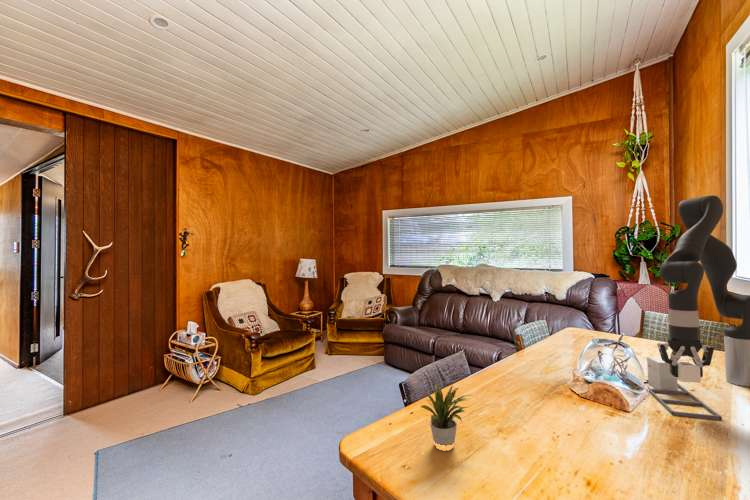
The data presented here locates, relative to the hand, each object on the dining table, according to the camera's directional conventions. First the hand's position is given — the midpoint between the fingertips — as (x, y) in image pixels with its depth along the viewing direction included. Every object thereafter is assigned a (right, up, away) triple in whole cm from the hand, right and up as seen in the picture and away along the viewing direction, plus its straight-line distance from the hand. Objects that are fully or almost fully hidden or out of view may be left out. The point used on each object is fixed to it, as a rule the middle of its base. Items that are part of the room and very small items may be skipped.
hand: (686, 377), depth 111 cm
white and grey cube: (0, -1, 0) cm, 1 cm away
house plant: (-80, -13, -18) cm, 84 cm away
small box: (+7, -11, +18) cm, 22 cm away
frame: (+4, -11, +9) cm, 14 cm away
